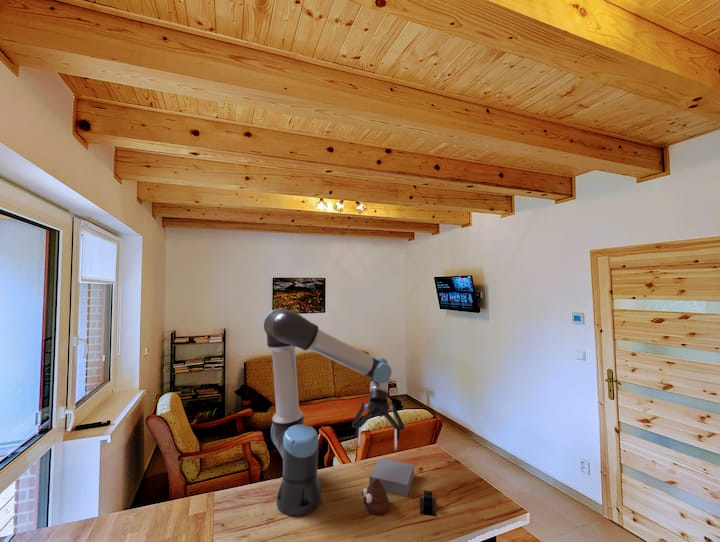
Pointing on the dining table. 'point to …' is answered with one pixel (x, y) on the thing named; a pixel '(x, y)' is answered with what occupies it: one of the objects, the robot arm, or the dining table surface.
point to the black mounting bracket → (428, 504)
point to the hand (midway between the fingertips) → (377, 447)
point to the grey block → (393, 476)
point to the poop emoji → (376, 498)
